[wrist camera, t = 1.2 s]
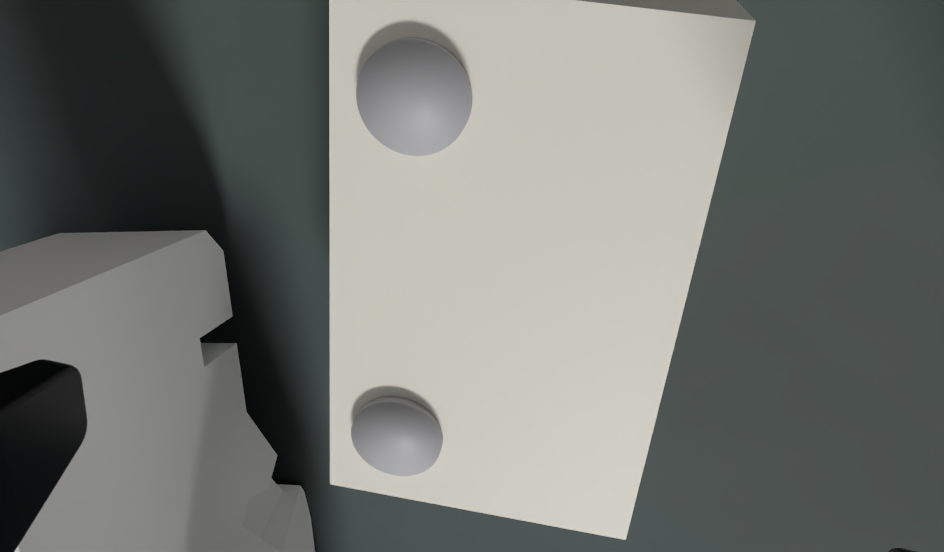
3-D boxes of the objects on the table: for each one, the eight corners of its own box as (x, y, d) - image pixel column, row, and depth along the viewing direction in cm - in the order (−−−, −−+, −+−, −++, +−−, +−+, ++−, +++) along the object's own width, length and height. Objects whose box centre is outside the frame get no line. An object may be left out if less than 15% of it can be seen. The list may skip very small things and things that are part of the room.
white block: (718, -19, 13) (758, 23, 9) (624, 405, 17) (625, 548, 14) (403, -54, 14) (324, -26, 10) (386, 365, 18) (326, 491, 14)
